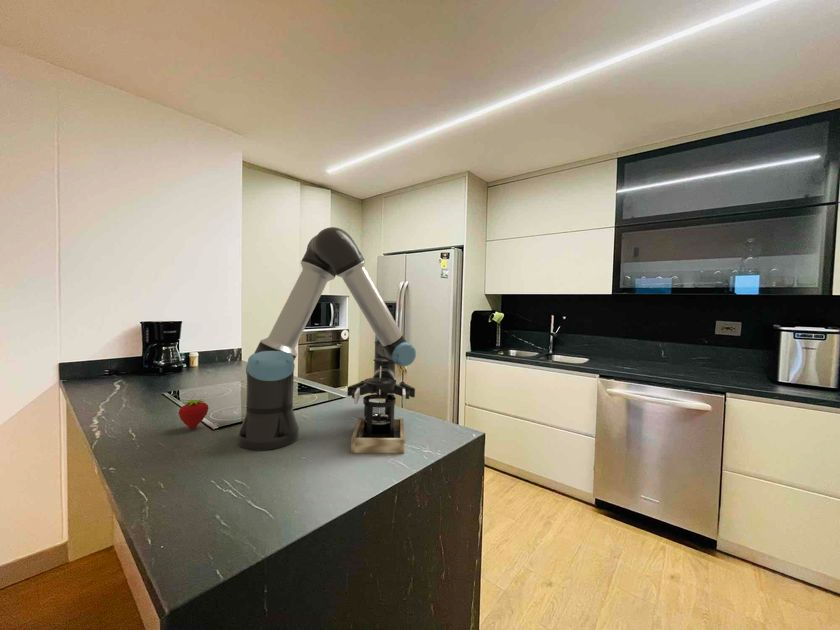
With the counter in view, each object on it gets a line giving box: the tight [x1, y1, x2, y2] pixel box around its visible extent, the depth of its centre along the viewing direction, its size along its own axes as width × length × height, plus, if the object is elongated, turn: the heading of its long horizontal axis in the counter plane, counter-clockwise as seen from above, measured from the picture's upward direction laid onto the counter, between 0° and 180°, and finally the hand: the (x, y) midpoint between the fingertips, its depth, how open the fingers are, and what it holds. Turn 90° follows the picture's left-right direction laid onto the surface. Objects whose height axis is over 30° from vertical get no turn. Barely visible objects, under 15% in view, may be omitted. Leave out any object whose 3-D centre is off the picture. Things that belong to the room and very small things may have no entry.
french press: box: [361, 358, 397, 438], centre depth 94 cm, size 12×9×23 cm
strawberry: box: [178, 395, 210, 430], centre depth 97 cm, size 6×8×10 cm
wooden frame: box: [350, 417, 405, 454], centre depth 94 cm, size 14×17×4 cm
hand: (380, 399), depth 90 cm, fingers open, 12 cm apart
